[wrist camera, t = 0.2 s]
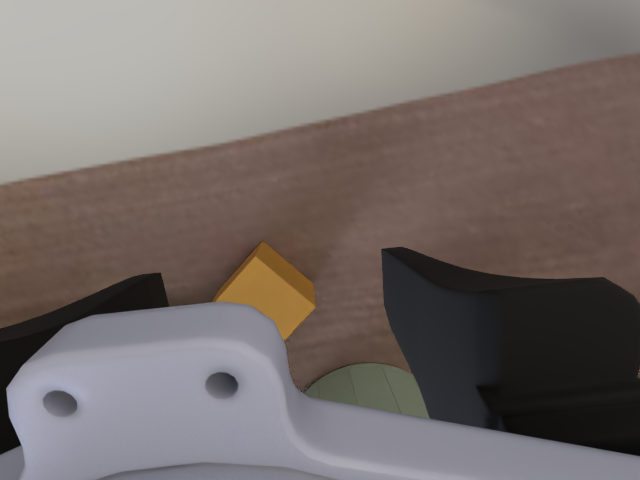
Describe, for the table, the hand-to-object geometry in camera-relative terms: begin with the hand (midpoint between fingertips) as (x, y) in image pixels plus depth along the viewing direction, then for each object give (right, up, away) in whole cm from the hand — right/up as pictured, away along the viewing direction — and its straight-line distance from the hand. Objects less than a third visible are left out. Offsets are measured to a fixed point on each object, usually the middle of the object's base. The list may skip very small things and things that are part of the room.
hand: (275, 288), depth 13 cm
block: (-2, -1, +11) cm, 11 cm away
